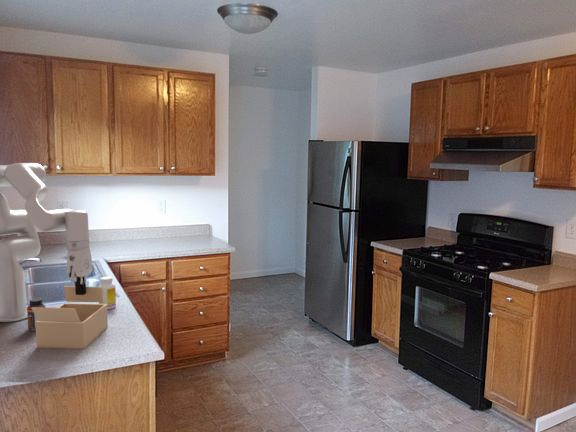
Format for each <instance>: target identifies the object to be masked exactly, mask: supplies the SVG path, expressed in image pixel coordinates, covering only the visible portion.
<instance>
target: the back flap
mask: <svg viewBox="0 0 576 432" xmlns="http://www.w3.org/2000/svg"><path fill="white" fill-rule="evenodd" d="M63 289H64V290H63V291H64V296H65V301H66V303H67V302H68V303H99V302H104V299H103V293H102V287H99V286H87V285H86V294H84V295H76V292H75V285H63Z"/></svg>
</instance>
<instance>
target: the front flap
mask: <svg viewBox="0 0 576 432" xmlns="http://www.w3.org/2000/svg"><path fill="white" fill-rule="evenodd" d="M32 310H33V312H34V314H35V316H36V318H37V320H38V321H67V322H80V320H79V317H78V315H77V313H76V310H75V308H58V307H45V308H43V307H32Z"/></svg>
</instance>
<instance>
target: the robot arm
mask: <svg viewBox="0 0 576 432" xmlns="http://www.w3.org/2000/svg"><path fill="white" fill-rule="evenodd" d="M46 179H47V172H46V170H45V167H44V166H42V165H41V164H40V163H37V162H14V163H10V164H0V188H3V187H4V188H5V187H6V188H8V187H13V188H14V189H15V190H16V191H17V193H18V194H19V195H20V196H21V197H22V198H23V199H24V200H25V203H24V209H22V208H21V209H20V208H19V209H11V207H10V205H9V201H8V199H7V197H6V196H5V195H4V193H3V192H1V191H0V237H1V236H3V237H4V236H9V235H10V236H11V235H17V236H12V237H6V238H2V239H0V323H2V322H3V323H10V322H12V323H13V322H17V321H21V320H25V319H28V317H27V307H28V304H27V291H26V287H27V286H26V276H25V275H26V273H25V270H24V267H22V266H21V264H20V261H24V260H28V259H29V260H30V259H32V258H35V257H37V256H38V255H39V254H40V252H41V249H42V248H41V241H40V238H39V234H38V231H37V230H40V231H41V232H44V233H50V232H51V233H52V232H58V231H64V230H65V240H66V241H65V242H66V250H67V258H66V264H67V266H66V267H67V276H68V278H69V279H70V281H71V283H72V282H73V284H74V286H75V292H76V295H84V294H86V286H87V284H86V283H87V277H88V275H90V274H91V273H92V272H93V270H94V269H93V268H94V267H93V259H92V254H91V248H90V231H89V215H88V212H87V211H85V210H81V209H77V210H75V209H72V208H61V209H58V208H57V209H51V210H46V209H45V208H44V207H43V206H42V205H41V204H40V202H42V201H43V200H44V199H45V198H46V196H47V195H48V193H49V192H48V191H49V190H48V187H47V186H46V185H45V183H44V182H45V181H46Z"/></svg>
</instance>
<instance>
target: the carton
mask: <svg viewBox="0 0 576 432" xmlns="http://www.w3.org/2000/svg"><path fill="white" fill-rule="evenodd" d="M57 308H75V310H76V313H77V315H78V317H79V320H80V322H67V321H36V322H35V325H36V331H35V340H36V341H35V343H36V348H37V349H71V350H77V349H79V350H80V349H81V350H85V349H86V348H87V347H88V346H89V345H90V344H91V343H93V341H95V340H96V339H97V338H98V337H99V336H100V335H101V334H102V333H103V332H104V331H105V330H107V328H108V323H109V322H108V309H107V304H99V303H75V302H68V303H67V302H65V303H63V304H61V305H59V306H58V307H57Z"/></svg>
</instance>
